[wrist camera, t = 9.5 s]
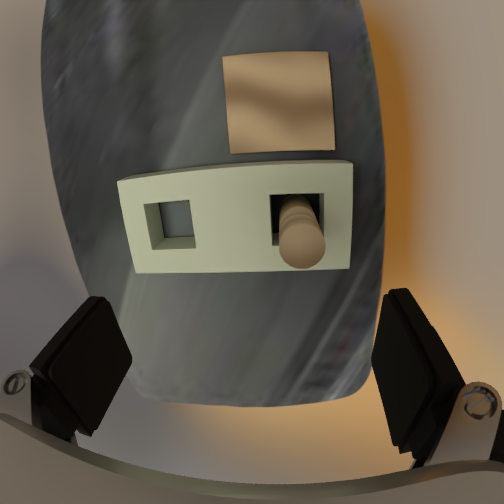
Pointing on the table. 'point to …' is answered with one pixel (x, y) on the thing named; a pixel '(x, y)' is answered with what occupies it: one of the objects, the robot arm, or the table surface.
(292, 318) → the table surface
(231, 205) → the hole block
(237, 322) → the table surface
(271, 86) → the cork mat
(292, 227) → the peg
